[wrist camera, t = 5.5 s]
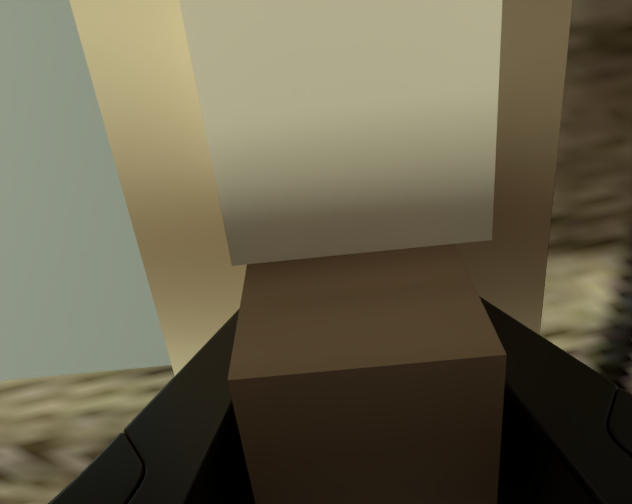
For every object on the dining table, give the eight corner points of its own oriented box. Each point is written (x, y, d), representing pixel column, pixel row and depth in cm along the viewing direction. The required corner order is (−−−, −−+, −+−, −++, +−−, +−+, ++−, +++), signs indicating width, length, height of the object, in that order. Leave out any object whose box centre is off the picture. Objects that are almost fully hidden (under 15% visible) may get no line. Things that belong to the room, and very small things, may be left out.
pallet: (497, 449, 15) (624, 793, 9) (230, 472, 16) (183, 824, 10) (540, -232, 9) (1101, -605, 3) (71, -174, 9) (-437, -386, 3)
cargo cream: (439, 152, 9) (491, 240, 7) (251, 171, 10) (232, 265, 7) (438, -61, 8) (504, -54, 5) (217, -36, 8) (176, -16, 5)
